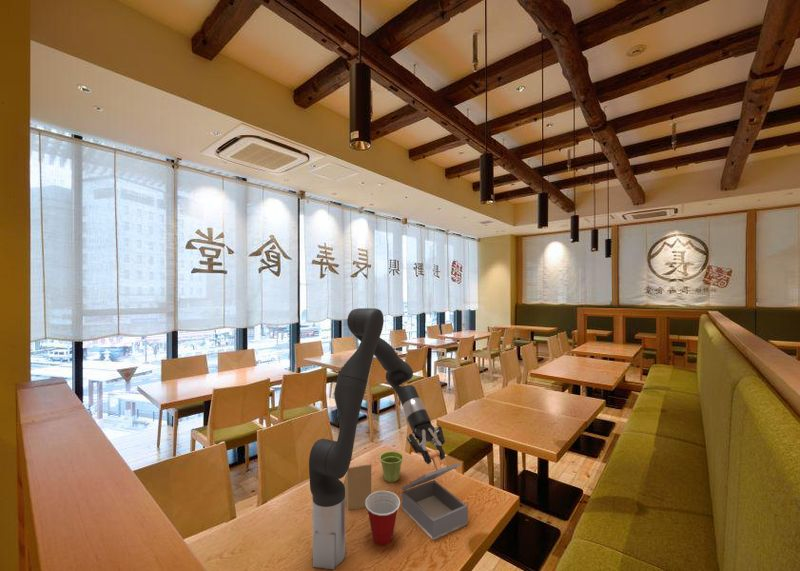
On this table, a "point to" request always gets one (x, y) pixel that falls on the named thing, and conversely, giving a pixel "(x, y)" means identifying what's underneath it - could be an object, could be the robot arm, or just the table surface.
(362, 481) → the sandwich container
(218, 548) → the table surface
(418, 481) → the carton lid
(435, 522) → the carton
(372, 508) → the plastic cup
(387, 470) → the plant pot
